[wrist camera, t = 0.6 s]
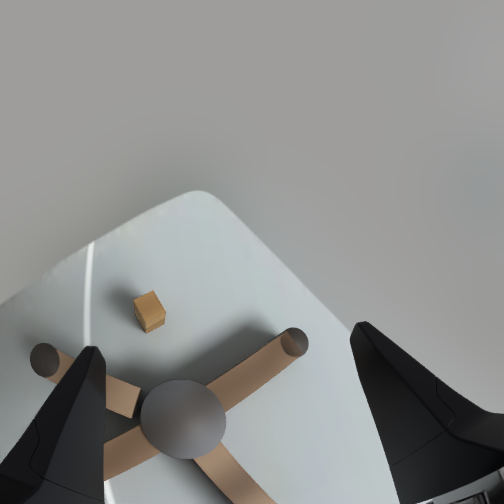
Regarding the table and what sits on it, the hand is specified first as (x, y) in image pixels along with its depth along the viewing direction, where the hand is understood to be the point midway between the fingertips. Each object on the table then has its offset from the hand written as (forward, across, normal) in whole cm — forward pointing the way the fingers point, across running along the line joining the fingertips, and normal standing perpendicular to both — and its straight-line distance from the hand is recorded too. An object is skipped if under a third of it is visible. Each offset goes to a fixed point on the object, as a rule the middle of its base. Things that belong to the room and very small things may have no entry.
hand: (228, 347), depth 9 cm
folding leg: (+5, +11, +12) cm, 17 cm away
